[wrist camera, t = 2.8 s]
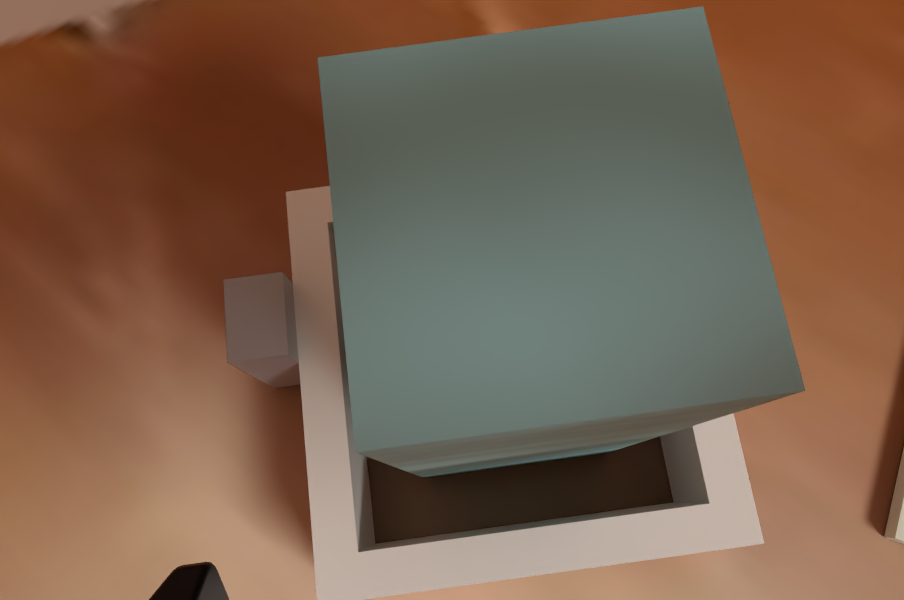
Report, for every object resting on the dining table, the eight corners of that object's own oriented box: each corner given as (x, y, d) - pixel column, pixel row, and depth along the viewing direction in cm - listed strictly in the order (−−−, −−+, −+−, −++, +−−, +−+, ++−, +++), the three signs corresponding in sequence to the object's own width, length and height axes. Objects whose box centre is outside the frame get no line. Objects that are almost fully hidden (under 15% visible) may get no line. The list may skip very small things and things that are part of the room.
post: (606, 452, 19) (805, 390, 8) (424, 477, 19) (354, 452, 8) (574, 279, 21) (702, 6, 9) (403, 302, 21) (317, 57, 9)
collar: (719, 536, 19) (783, 546, 15) (288, 596, 19) (240, 622, 15) (642, 188, 21) (679, 121, 18) (264, 239, 21) (218, 182, 17)
